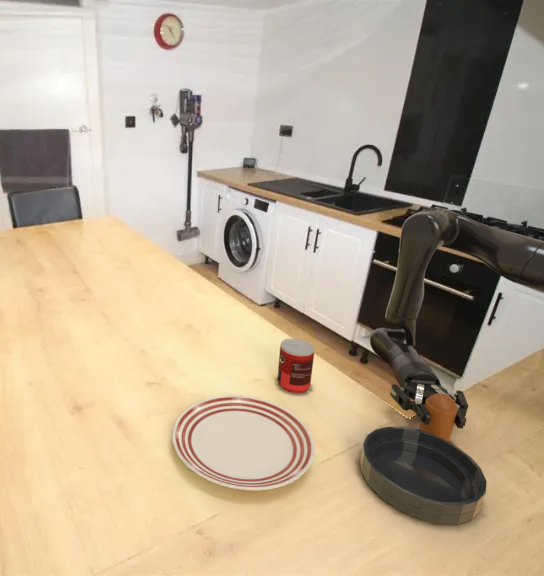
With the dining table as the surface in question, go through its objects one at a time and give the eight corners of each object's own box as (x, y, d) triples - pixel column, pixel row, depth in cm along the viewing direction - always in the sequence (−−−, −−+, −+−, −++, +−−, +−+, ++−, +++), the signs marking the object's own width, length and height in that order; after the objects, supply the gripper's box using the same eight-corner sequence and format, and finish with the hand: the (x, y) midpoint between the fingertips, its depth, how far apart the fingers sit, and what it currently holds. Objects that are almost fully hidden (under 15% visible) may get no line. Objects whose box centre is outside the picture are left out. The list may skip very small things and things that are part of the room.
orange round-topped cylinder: (438, 430, 85) (449, 387, 81) (454, 448, 80) (466, 403, 77) (412, 430, 85) (422, 387, 82) (426, 447, 80) (437, 403, 77)
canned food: (286, 372, 107) (290, 335, 103) (315, 384, 102) (320, 345, 98) (270, 384, 102) (274, 345, 98) (300, 398, 97) (305, 357, 93)
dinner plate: (153, 422, 90) (152, 410, 88) (259, 393, 99) (260, 381, 97) (212, 526, 66) (212, 510, 64) (345, 475, 74) (348, 461, 73)
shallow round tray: (438, 445, 81) (443, 426, 79) (507, 528, 64) (515, 506, 62) (344, 444, 82) (347, 425, 80) (387, 525, 65) (392, 503, 63)
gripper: (382, 358, 94) (407, 402, 78) (453, 363, 91) (493, 411, 75) (377, 385, 97) (400, 434, 81) (445, 392, 93) (482, 443, 78)
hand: (444, 422), depth 78 cm, fingers closed on orange round-topped cylinder, 5 cm apart
